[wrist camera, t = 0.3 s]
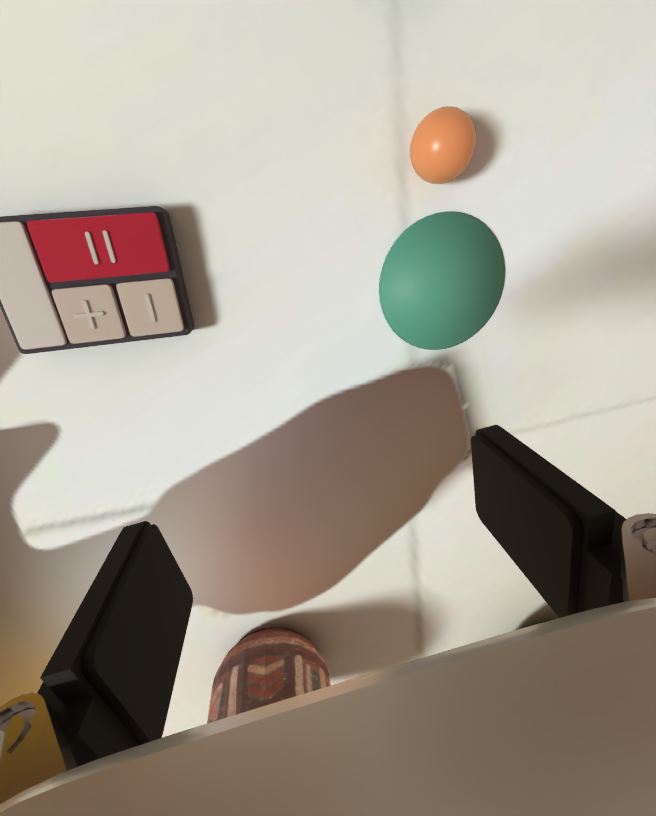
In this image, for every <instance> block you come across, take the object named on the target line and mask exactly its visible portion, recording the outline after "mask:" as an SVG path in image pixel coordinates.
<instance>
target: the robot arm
mask: <svg viewBox="0 0 656 816" xmlns="http://www.w3.org/2000/svg"><path fill="white" fill-rule="evenodd" d="M471 449H472V462H473V476H474V490H475V503H476V511H477V514H478V516H479V518H480V520H481V521H482V523H483V524H484V525H485V526H486V527H487V529H488V530H489V531H490V532H491V534H492V535H493V536H494V537H495V539H496V540H497V541H498V542H499V544H500V545H501V546H502V547H503V549H504V550H505V551H506V552H507V554H508V555H509V556H510V557H511V559H512V560H513V561H514V562H515V564H516V565H517V566H518V567H519V569H520V570H521V571H522V572H523V573H524V575H525V576H526V577H527V578H528V580H529V581H530V582H531V583H532V585H533V586H534V587H535V588H536V590H537V591H538V592H539V593H540V595H541V596H542V597H543V598H544V600H545V601H546V602H547V603H548V605H549V606H550V607H551V608H552V610H553V611H554V612H555V613H556V615H557V616H558V617H559V618H558V619H554V620H551V621H547V622H544V623H540V624H536V625H533V626H529V627H525V628H522V629H519V630H515V631H512V632H508V633H505V634H502V635H498V636H495V637H492V638H488V639H485V640H481V641H478V642H475V643H471V644H468V645H465V646H461V647H458V648H454V649H451V650H448V651H444V652H441V653H438V654H434V655H431V656H428V657H424V658H421V659H417V660H414V661H411V662H407V663H404V664H401V665H398V666H394V667H391V668H388V669H384V670H381V671H378V672H374V673H371V674H368V675H364V676H361V677H358V678H354V679H351V680H348V681H345V682H341V683H338V684H335V685H331V686H328V687H325V688H322V689H318V690H315V691H312V692H308V693H305V694H302V695H299V696H295V697H292V698H289V699H285V700H282V701H279V702H276V703H272V704H269V705H266V706H263V707H260V708H256V709H253V710H250V711H247V712H243V713H240V714H237V715H234V716H230V717H227V718H224V719H221V720H218V721H214V722H211V723H208V724H205V725H201V726H198V727H195V728H192V729H188V730H185V731H182V732H179V733H176V734H172V735H169V736H166V737H163V738H161V737H162V734H163V730H164V726H165V721H166V717H167V713H168V708H169V704H170V699H171V695H172V691H173V686H174V682H175V678H176V673H177V669H178V665H179V660H180V656H181V651H182V647H183V643H184V638H185V634H186V630H187V625H188V621H189V617H190V612H191V608H192V603H193V595H192V591H191V589H190V587H189V585H188V583H187V581H186V579H185V577H184V575H183V573H182V572H181V570H180V568H179V566H178V564H177V562H176V560H175V558H174V556H173V555H172V553H171V551H170V549H169V547H168V545H167V543H166V541H165V540H164V538H163V536H162V534H161V532H160V530H159V528H158V527H157V526H156V525H155V524H153V525H151V524H150V523H149V522H147V521H144V522H140V523H137V524H133V525H130V526H126V527H124V528H123V529H122V531H121V533H120V535H119V536H118V538H117V540H116V542H115V543H114V545H113V547H112V549H111V551H110V552H109V554H108V556H107V558H106V560H105V562H104V563H103V565H102V567H101V569H100V571H99V572H98V574H97V576H96V578H95V580H94V581H93V583H92V585H91V587H90V589H89V590H88V592H87V594H86V596H85V598H84V599H83V601H82V603H81V605H80V607H79V609H78V610H77V612H76V614H75V616H74V618H73V619H72V621H71V623H70V625H69V627H68V628H67V630H66V632H65V634H64V636H63V638H62V640H61V641H60V643H59V645H58V647H57V648H56V650H55V652H54V654H53V656H52V657H51V659H50V661H49V663H48V665H47V666H46V669H45V670H44V672H43V674H42V676H41V677H40V678H41V679H42V680H43V684H42V685H41V687H40V689H39V691H38V693H33V692H31V693H27V694H22V695H20V696H18V697H15V698H13V699H11V700H9V701H8V702H6V703H5V704H3V705H2V706H1V707H0V816H656V514H649V513H648V514H638V515H635V516H632V517H629V518H628V519H625V518H624V517H623V516H621V515H620V514H619V513H617V512H616V511H615V510H614V509H613V508H611V507H610V506H609V505H607V504H606V503H605V502H603V501H602V500H600V499H599V498H598V497H596V496H595V495H594V494H592V493H591V492H589V491H588V490H587V489H585V488H584V487H583V486H581V485H580V484H578V483H577V482H576V481H574V480H573V479H572V478H570V477H569V476H567V475H566V474H565V473H563V472H562V471H561V470H559V469H558V468H556V467H555V466H554V465H552V464H551V463H550V462H548V461H547V460H545V459H544V458H543V457H541V456H540V455H539V454H537V453H536V452H534V451H533V450H532V449H530V448H529V447H528V446H526V445H525V444H523V443H522V442H521V441H519V440H518V439H517V438H515V437H514V436H513V435H511V434H510V433H508V432H507V431H506V430H504V429H503V428H502V427H500V426H498V425H493V426H490V427H486V428H482V429H479V430H477V431H476V434H475V436H472V438H471Z"/></svg>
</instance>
